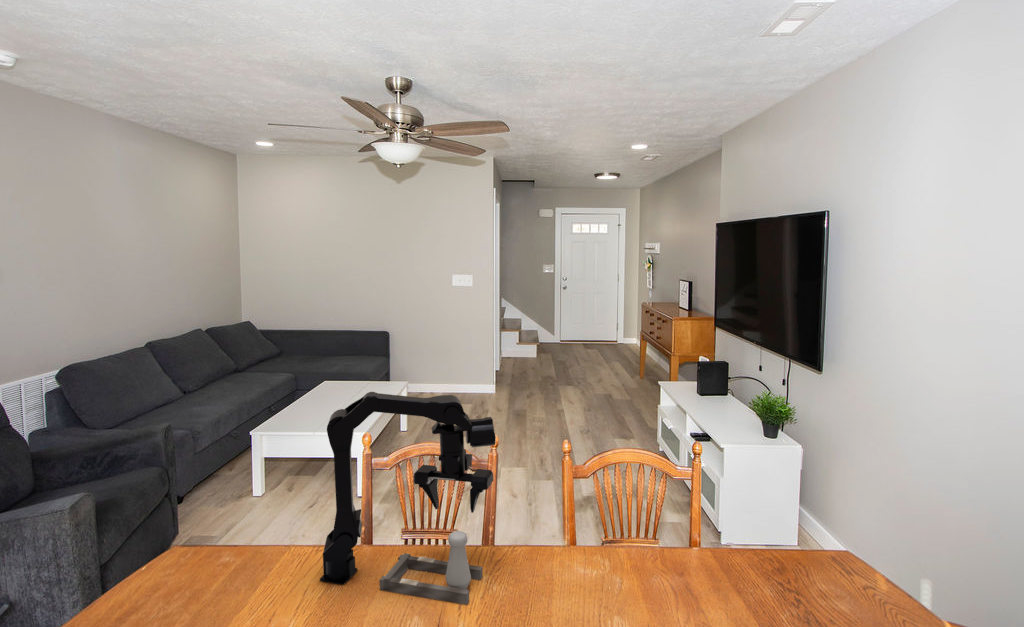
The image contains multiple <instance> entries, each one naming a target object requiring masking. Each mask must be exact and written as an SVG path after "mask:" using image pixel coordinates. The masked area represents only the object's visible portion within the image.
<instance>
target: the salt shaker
mask: <svg viewBox="0 0 1024 627" xmlns="http://www.w3.org/2000/svg"><path fill="white" fill-rule="evenodd" d="M447 538H448V539H447V541H448V545H449V546H450V548H449V549H450V550H449V555H448V560H447V562H448V566H447V572H446V575H445V582H446V584H447V587H453V588H459V589H465V590H468V587H469V584H470V582H471V580H472V579H471V574H470V569H469V565H470V564H469V561H468V555H467V551H466V545H467V543H468V536H467V533H466V532H465V531H462V530H454V531H452V532H451V533H449V534H448V537H447Z"/></svg>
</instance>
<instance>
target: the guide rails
mask: <svg viewBox="0 0 1024 627" xmlns="http://www.w3.org/2000/svg"><path fill="white" fill-rule="evenodd" d="M397 560H398V561H397V562H396V563H395V564H394V565H393V566H392V568H390V570H389V571H388V572H387V573H386V575H385V576H384V575H382V576H381V577H380V579H379V580H378V581H379V591H382V592H383V591H384V592H389V593H395V594H400V595H401V594H402V595H407V596H413V597H417V598H418V597H419V598H424V599H425V598H426V599H431V600H437V601H441V602H442V601H443V602H449V603H452V604H453V603H454V604H460V605H468V603H469V602H470V590H469V589H467V590H465V589H459V588H453V587H449V586H448V585H447V586H446V585H439V584H434V583H427V582H421V581H419V580H417V579H416V580H414V579H410V578H409V579H408V578H402V577H403V576H404V575H405V573H406V572H407V571H408V570H413V571H418V570H419V572H425V571H427V572H426V573H431V572H432V573H431V574H437V573H438V574H439V575H444V576H446V572H447V566H448V560H447V561H446V560H439V559H436V558H433V557H426V556H412V555H411V553H406V552H404V553H403V554H400V555H399V556H398V557H397ZM468 565H469V569H470V574H471V580H476V581H481V580H482V578H483V566H480V565H473V564H468Z"/></svg>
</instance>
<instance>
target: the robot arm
mask: <svg viewBox="0 0 1024 627" xmlns="http://www.w3.org/2000/svg"><path fill="white" fill-rule="evenodd" d="M373 413H383V414H395V415H404V416H405V415H406V416H413V417H414V416H416V417H423V418H427V419H430V420H431V421H433V422H436V423H435V424H433V426H432V427H431V434H432V435H438V434H439V445H440V446H439V450H440V451H439V452H440V455H438V461H439V462H440V470H438V468H437V466H436V465H430V464H429V465H428V464H423V465H421V466H420V467H419V468H418V469H417V470H416V471H415V472H414V474H413V476H412V477H413V478H412V479H413V480H412V481H413V484H414V485H418V487H419V488H420V489H422V491H424V493H425V495H427V496H428V498H429V500H430V502H431V504H432V505H433V507H434V509H435V510H438V509H439V507H440V506H439V503H440V502H439V493H438V492H439V490H438V482H439V480H443V481H455V482H464V483H465V482H466V483H470V486H471V488H470V490H469V506H470V507H469V508H470V513H471V514H474V511H475V510H476V506H477V502H478V501H479V496H480V493H483V492H484V491H486V490H488V489H489V488H490V486H491V485H492V483H493V482H494V473H493V472H492V470H491V469H483V468H481V469H480V468H477V469H476V470H475V471H474V473H467V472H468V470H469V469H470V468H472V463H473V453H467V449H466V448H465V443H464V442H465V441H466V444H469V446H470V447H471V448H480V447H492V446H495V445H496V433H495V428H494V420H493V418H492V417H491V416H487V417H483V418H473V419H470V417H469V415H468V414H467V413H466V412H465V411H464V408H463V405H462V403H461V401H460V399H459V398H458V397H457V396H455V395H452V394H447V395H446V394H445V395H434V396H431V397H420V396H419V397H417V396H407V395H397V394H390V393H389V394H387V393H378V392H376V391H370V392H366V393H365V394H364V395H363V396H362V397H361V398H359V399H358V400H356V401H354V402H352V403H351V404H349V405H348V406H346V407H345V408H344V409H343V408H340V409H337V410H335V411H333V413H332V414H331V415H330V418H329V420H328V423H327V426H326V433H327V437H328V441H329V446H330V448H331V451H332V453H333V461H334V462H333V465H334V466H333V467H334V488H335V489H334V490H335V508H336V513H335V517H334V525H333V529H332V530H331V531H330V532H329V533H328V534H327V535H326V538H325V539H326V540H325V543H324V547H323V552H322V567H323V575H322V576H321V577H320V578H319V582H321V583H322V582H324V583H328V584H334V585H340V586H344V585H346V583H348V581H350V579H351V578H352V577H353V576H354V575H355V574H356V573H357V572H358V567H356V558H355V555H354V547H355V546H357V544H358V540H359V539H358V538H362V536H361V535H362V528H363V522H362V520H361V518H362V516H361V514H362V509H361V508H360V509H356V508H355V504H354V493H353V492H354V490H353V488H354V487H353V470H352V469H353V468H352V466H353V465H352V444H353V438H354V437H353V436H354V430H355V429H356V428H357V427H359V426H360V425H361V424H362V423H363V422H364V421H365V420H366V419H368V418H369V417H370V415H372V414H373ZM464 432H465V433H464ZM464 434H465V440H464ZM469 467H470V468H469Z"/></svg>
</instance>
